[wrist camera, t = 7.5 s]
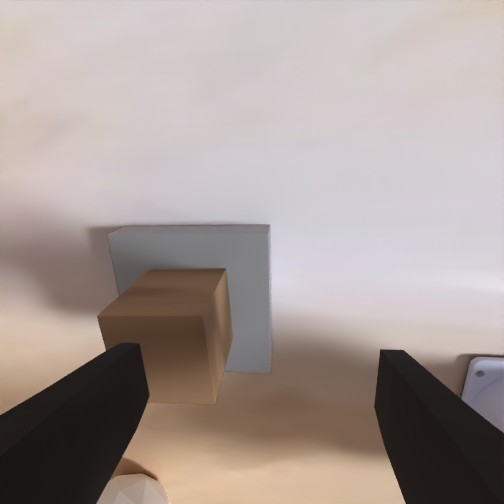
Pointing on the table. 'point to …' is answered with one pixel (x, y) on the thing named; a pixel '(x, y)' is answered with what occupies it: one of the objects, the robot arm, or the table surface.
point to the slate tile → (210, 257)
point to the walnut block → (175, 331)
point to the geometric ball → (134, 491)
